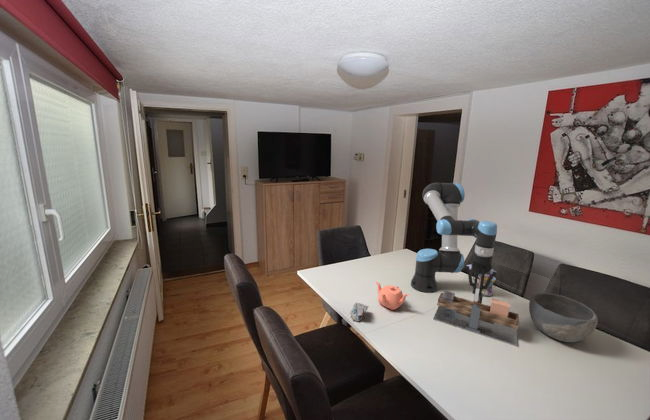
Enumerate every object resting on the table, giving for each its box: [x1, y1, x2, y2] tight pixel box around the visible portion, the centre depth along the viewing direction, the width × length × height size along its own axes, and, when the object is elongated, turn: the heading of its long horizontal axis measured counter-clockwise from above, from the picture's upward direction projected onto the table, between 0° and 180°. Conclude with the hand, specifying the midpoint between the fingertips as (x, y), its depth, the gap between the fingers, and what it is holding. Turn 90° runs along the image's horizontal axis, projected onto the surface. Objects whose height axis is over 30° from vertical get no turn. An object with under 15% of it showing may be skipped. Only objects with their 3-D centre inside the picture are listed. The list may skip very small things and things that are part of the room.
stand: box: [432, 293, 518, 347], centre depth 138 cm, size 35×18×13 cm, turn 58°
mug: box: [472, 273, 497, 297], centre depth 169 cm, size 12×9×11 cm
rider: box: [490, 298, 511, 317], centre depth 133 cm, size 7×4×7 cm, turn 58°
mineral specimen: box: [350, 302, 370, 322], centre depth 141 cm, size 10×8×10 cm
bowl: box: [528, 292, 599, 343], centre depth 131 cm, size 24×24×15 cm
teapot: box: [375, 281, 410, 311], centre depth 152 cm, size 14×14×11 cm
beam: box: [436, 290, 520, 331], centre depth 138 cm, size 34×12×7 cm, turn 58°
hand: (475, 300), depth 138 cm, fingers closed
